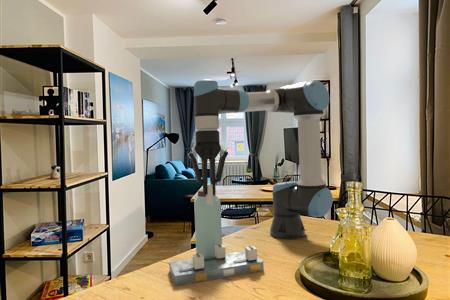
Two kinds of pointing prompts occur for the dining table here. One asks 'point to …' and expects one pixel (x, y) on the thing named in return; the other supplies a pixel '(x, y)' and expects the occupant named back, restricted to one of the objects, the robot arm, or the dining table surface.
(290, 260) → the dining table surface
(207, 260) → the console
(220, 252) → the switch
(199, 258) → the switch
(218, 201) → the water bottle
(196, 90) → the robot arm
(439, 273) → the dining table surface
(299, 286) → the dining table surface
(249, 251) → the switch
